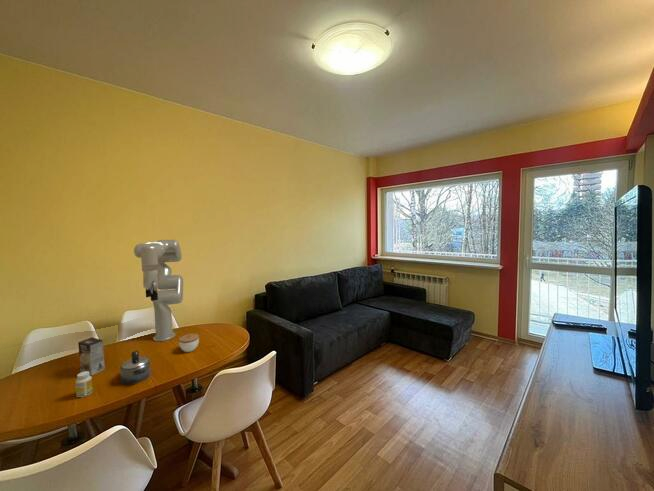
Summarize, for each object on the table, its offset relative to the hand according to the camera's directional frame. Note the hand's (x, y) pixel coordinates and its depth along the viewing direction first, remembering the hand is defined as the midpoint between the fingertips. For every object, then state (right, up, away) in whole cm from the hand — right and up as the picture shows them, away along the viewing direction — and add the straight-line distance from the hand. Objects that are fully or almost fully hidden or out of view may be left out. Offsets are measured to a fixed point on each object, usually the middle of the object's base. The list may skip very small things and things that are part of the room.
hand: (151, 298), depth 149 cm
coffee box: (-24, -36, -10) cm, 44 cm away
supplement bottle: (-11, -37, -29) cm, 48 cm away
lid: (+3, -29, -16) cm, 33 cm away
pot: (+3, -36, -16) cm, 39 cm away
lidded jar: (+14, -34, +13) cm, 39 cm away
